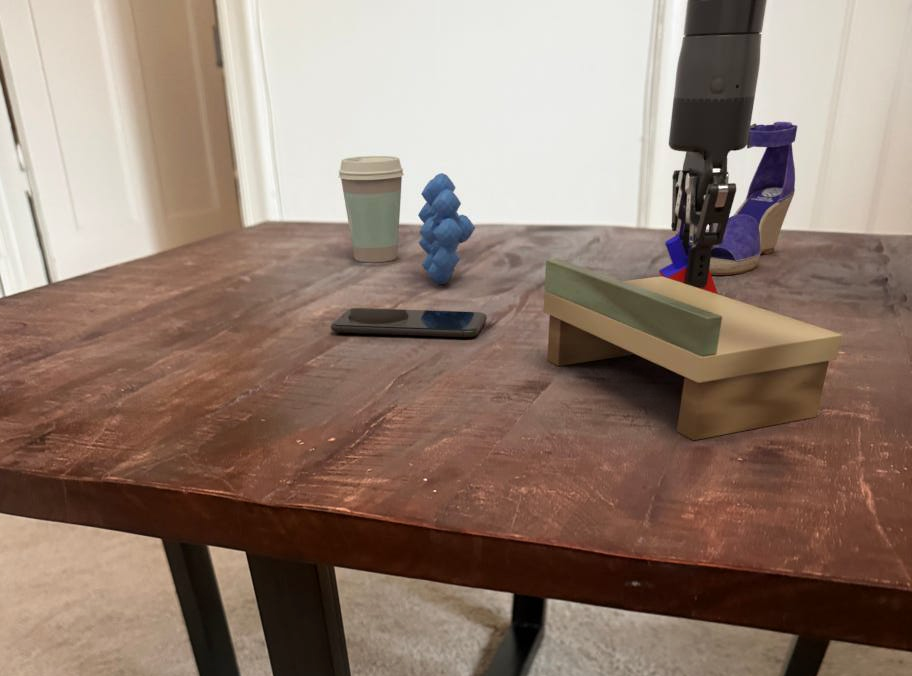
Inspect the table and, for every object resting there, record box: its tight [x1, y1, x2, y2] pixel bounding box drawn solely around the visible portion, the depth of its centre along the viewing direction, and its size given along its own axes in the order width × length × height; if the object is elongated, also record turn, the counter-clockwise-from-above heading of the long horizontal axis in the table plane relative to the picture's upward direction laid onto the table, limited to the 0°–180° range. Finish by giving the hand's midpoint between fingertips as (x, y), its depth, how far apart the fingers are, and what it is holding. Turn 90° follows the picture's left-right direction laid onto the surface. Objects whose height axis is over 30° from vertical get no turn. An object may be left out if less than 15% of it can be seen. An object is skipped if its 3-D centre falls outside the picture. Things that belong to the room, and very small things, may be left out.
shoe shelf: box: [543, 258, 843, 441], centre depth 69 cm, size 12×22×8 cm, turn 22°
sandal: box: [709, 121, 798, 276], centre depth 107 cm, size 8×20×15 cm, turn 133°
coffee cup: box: [338, 155, 405, 264], centre depth 116 cm, size 9×9×12 cm
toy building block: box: [658, 235, 719, 295], centre depth 92 cm, size 4×4×8 cm
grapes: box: [417, 172, 476, 285], centre depth 102 cm, size 12×7×12 cm, turn 13°
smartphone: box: [330, 307, 488, 338], centre depth 88 cm, size 7×1×15 cm
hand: (689, 281), depth 93 cm, fingers closed on toy building block, 3 cm apart
